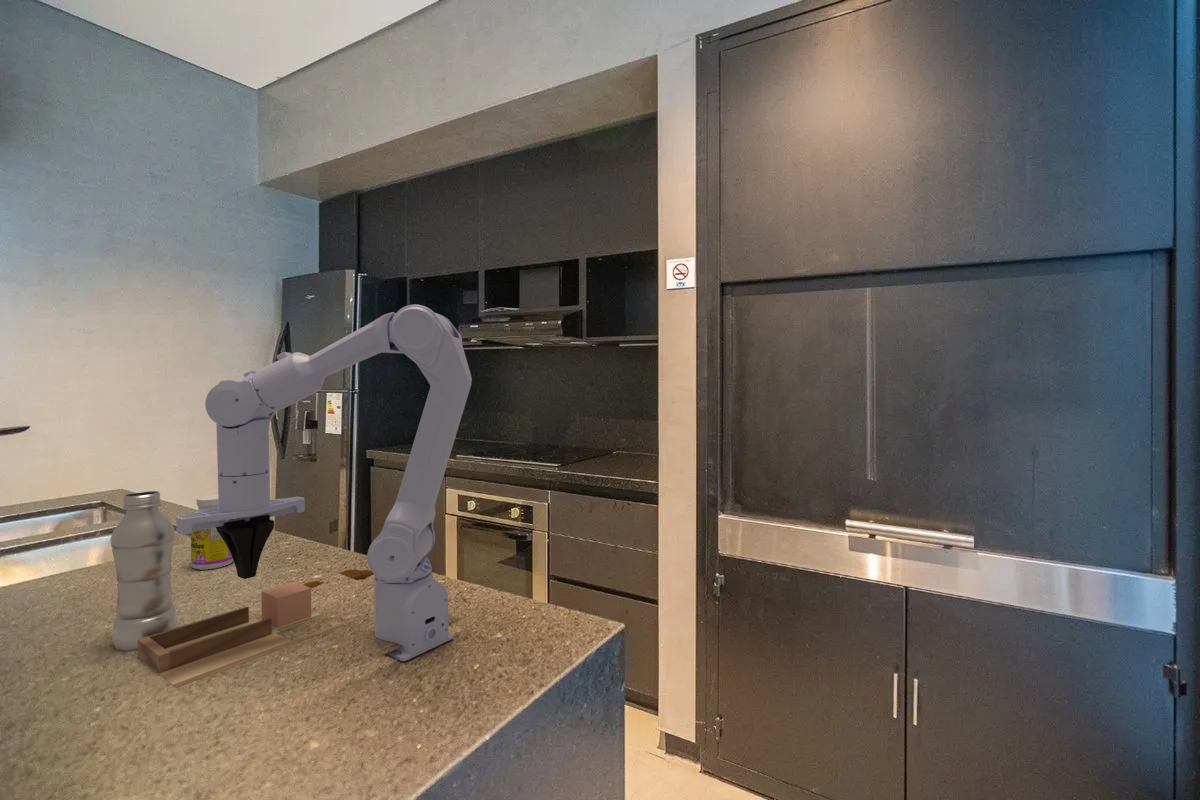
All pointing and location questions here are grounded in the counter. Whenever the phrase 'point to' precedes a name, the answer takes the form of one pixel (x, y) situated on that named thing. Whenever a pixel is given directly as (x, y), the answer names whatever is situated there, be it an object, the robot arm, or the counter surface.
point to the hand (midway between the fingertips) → (246, 576)
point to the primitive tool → (349, 573)
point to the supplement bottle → (208, 541)
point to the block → (286, 603)
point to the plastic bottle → (142, 571)
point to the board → (216, 644)
